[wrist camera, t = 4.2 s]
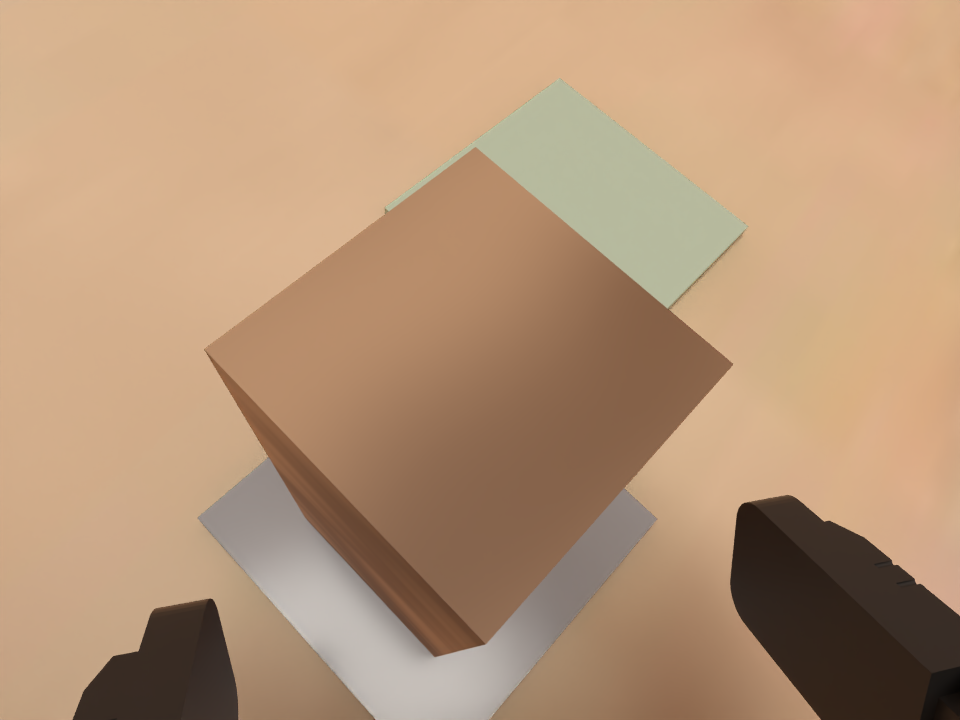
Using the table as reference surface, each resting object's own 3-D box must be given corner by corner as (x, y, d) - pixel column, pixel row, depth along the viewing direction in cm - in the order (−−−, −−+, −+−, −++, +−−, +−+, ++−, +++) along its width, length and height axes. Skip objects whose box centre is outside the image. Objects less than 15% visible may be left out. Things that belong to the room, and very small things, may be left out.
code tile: (200, 520, 19) (196, 517, 18) (436, 320, 22) (437, 314, 22) (433, 783, 17) (433, 785, 17) (652, 521, 20) (657, 519, 20)
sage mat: (384, 216, 24) (384, 207, 23) (556, 87, 27) (559, 77, 26) (582, 396, 22) (586, 390, 21) (742, 234, 25) (748, 226, 24)
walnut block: (305, 518, 19) (204, 349, 9) (436, 398, 21) (476, 146, 11) (434, 657, 18) (486, 644, 8) (560, 519, 20) (733, 364, 10)
